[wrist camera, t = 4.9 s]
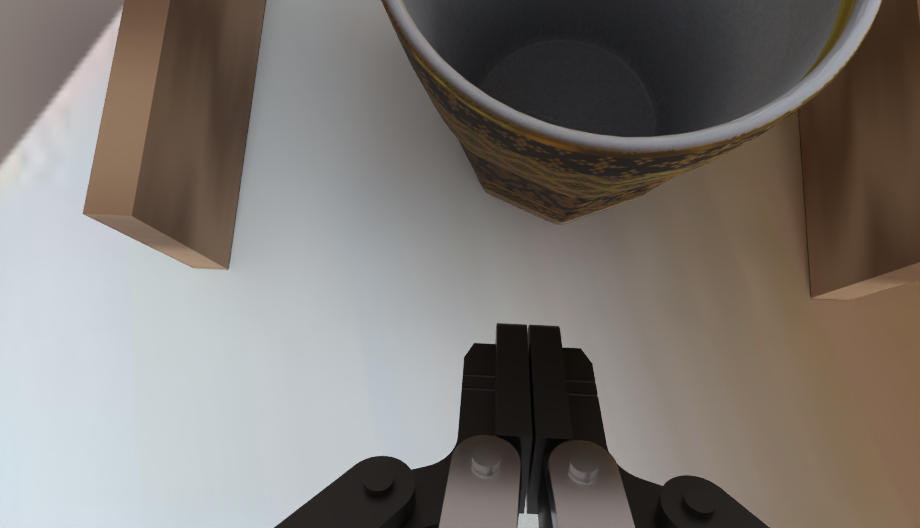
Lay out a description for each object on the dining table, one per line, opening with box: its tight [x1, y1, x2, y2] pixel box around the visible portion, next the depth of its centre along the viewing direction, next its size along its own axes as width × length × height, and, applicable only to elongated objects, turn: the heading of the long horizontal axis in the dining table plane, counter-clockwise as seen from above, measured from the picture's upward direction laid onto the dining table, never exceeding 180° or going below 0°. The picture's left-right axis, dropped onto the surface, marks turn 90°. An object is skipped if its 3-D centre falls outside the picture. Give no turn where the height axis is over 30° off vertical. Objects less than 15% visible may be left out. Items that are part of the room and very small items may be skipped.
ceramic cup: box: [381, 0, 882, 225], centre depth 17 cm, size 13×10×10 cm
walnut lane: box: [83, 0, 920, 300], centre depth 19 cm, size 12×21×6 cm, turn 87°
